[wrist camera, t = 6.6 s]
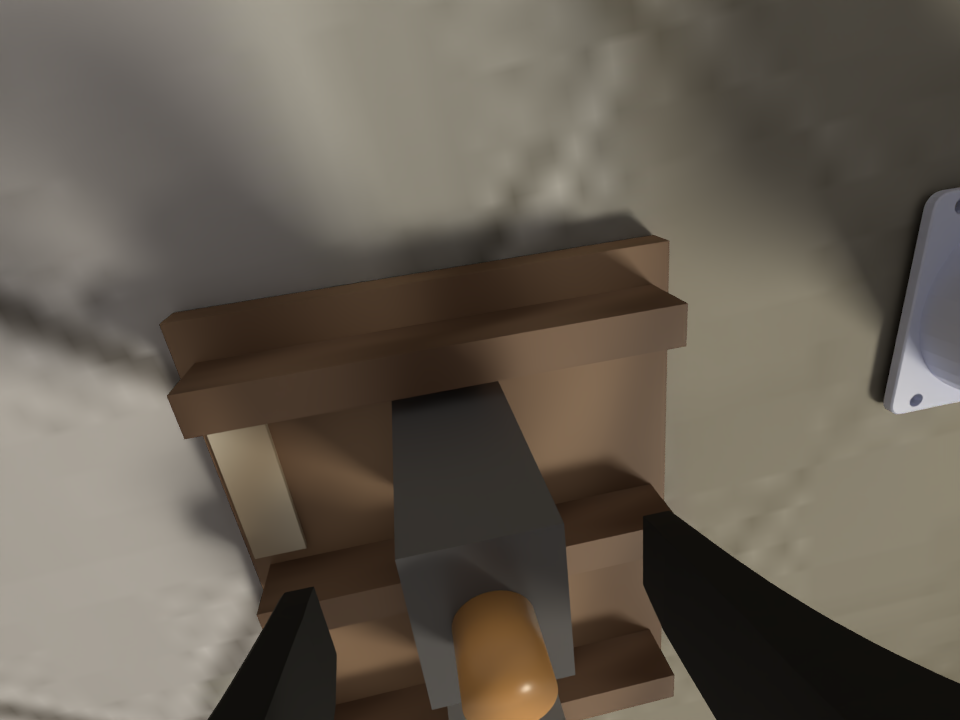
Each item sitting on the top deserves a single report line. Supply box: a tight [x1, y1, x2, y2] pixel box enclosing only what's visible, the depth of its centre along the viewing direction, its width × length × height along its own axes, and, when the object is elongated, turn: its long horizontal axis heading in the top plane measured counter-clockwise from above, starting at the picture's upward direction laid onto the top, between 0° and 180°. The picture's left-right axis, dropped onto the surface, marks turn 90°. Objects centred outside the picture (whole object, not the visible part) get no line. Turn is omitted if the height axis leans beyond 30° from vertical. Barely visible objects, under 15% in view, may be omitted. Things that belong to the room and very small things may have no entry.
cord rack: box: [159, 235, 688, 720], centre depth 18 cm, size 14×18×3 cm
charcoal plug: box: [392, 381, 575, 720], centre depth 12 cm, size 3×4×8 cm
